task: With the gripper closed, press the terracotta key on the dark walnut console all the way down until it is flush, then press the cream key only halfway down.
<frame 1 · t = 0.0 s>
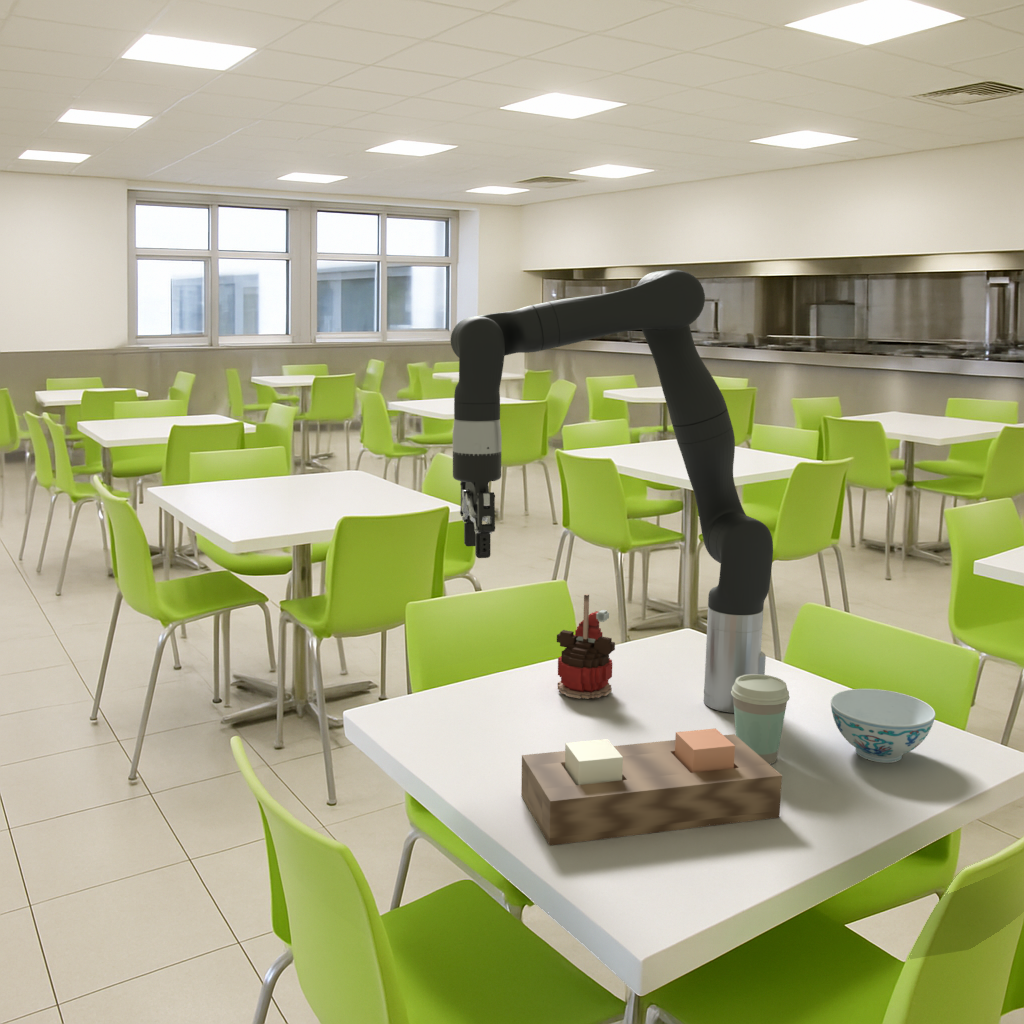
hand: (476, 551, 159), 29 cm above the table, tool pointing down, fingers open, 8 cm apart
walnut console: (647, 806, 138), on the table
coffee cup: (756, 758, 154), on the table
cream key: (593, 764, 135), point 7 cm above the table, slide at 0.0 cm
terracotta key: (704, 752, 139), point 7 cm above the table, slide at 0.0 cm
cake: (584, 693, 180), on the table
chinaware: (878, 754, 156), on the table
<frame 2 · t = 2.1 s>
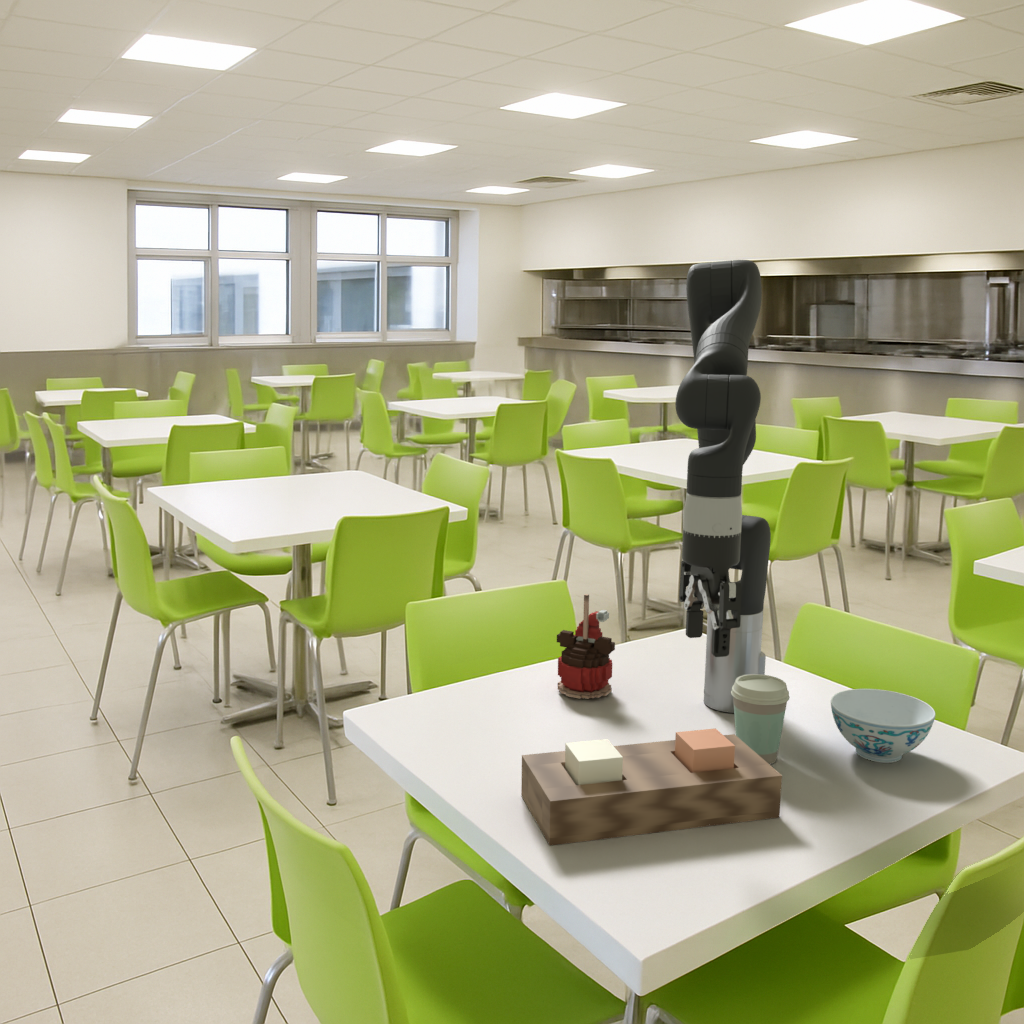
hand: (706, 646, 136), 22 cm above the table, tool pointing down, fingers open, 8 cm apart
nothing on the table moved.
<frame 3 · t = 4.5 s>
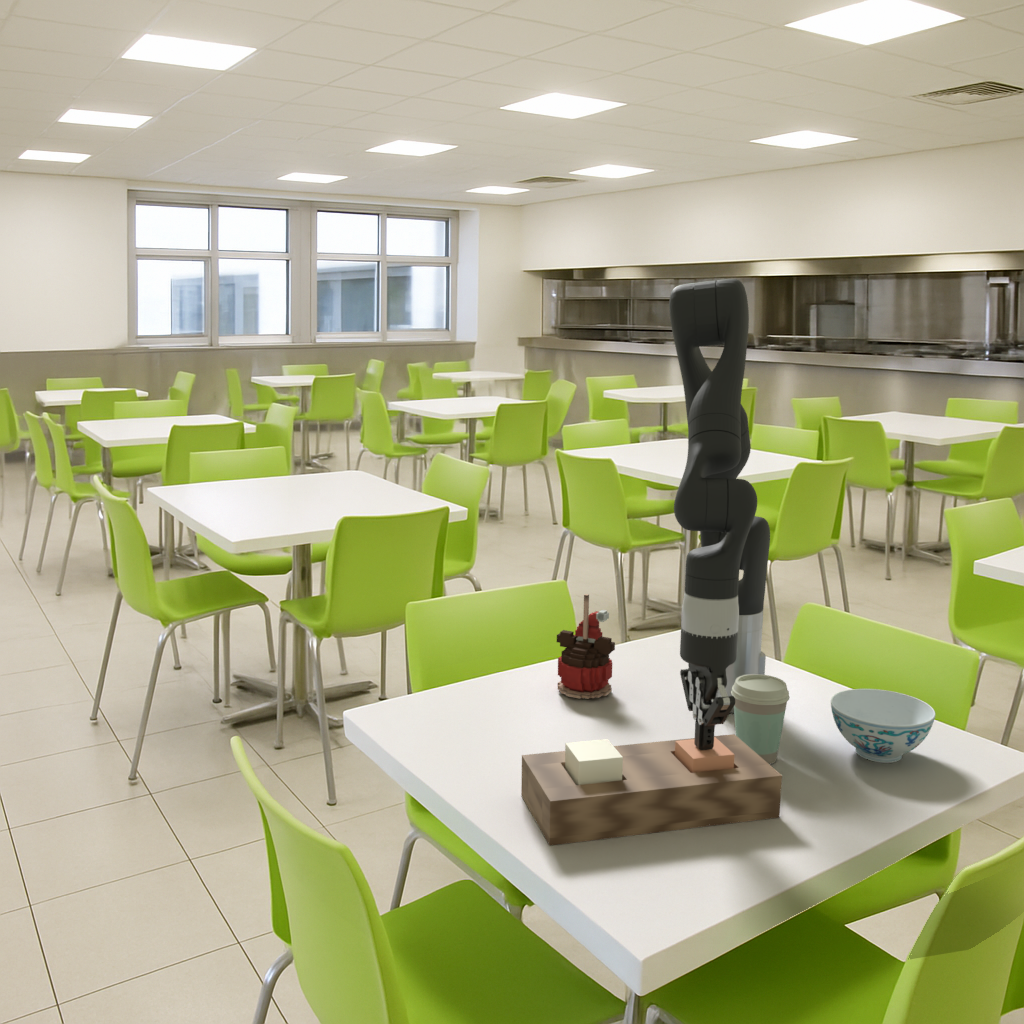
hand: (703, 747, 139), 8 cm above the table, tool pointing down, fingers closed
terracotta key: (703, 761, 139), point 6 cm above the table, slide at 1.3 cm, touching gripper
everything else where it was.
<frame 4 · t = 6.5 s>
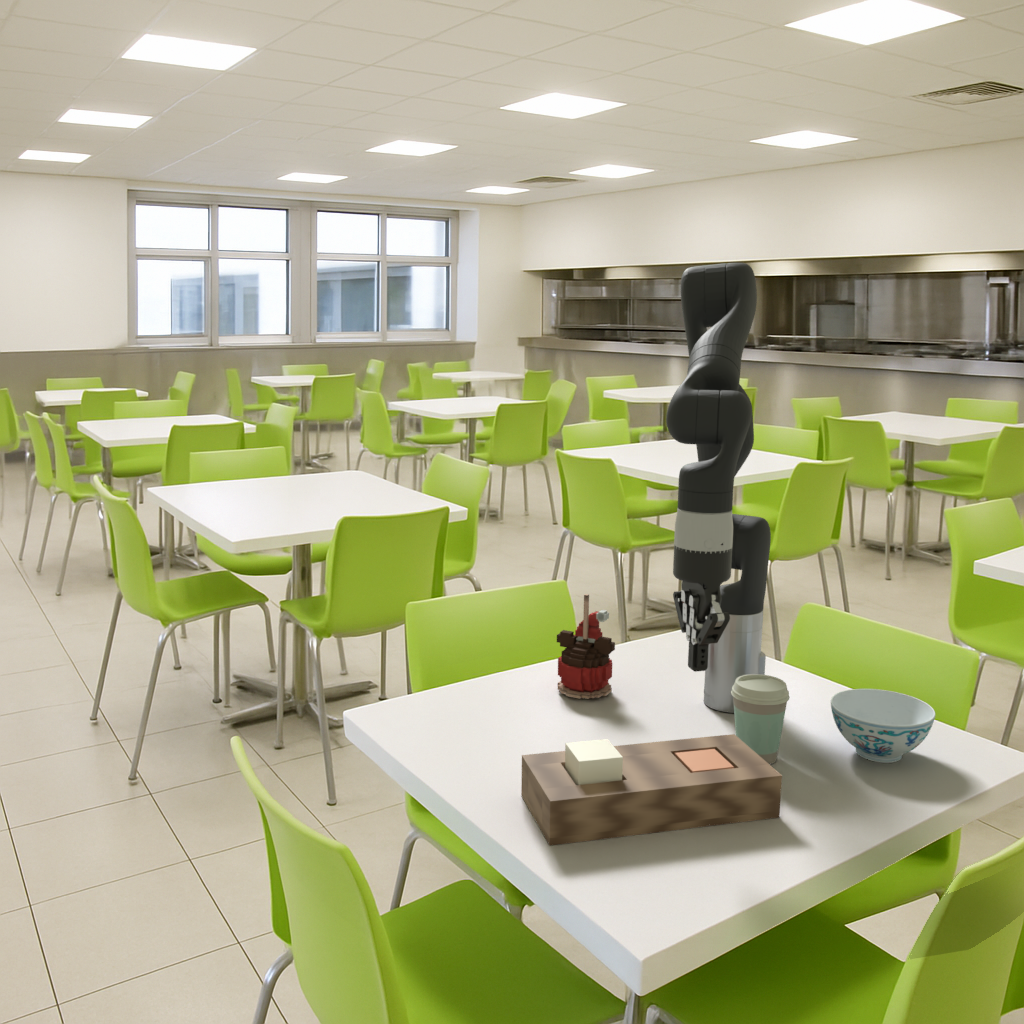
hand: (697, 669, 136), 19 cm above the table, tool pointing down, fingers closed
terracotta key: (703, 773, 139), point 4 cm above the table, slide at 3.1 cm
everything else where it was.
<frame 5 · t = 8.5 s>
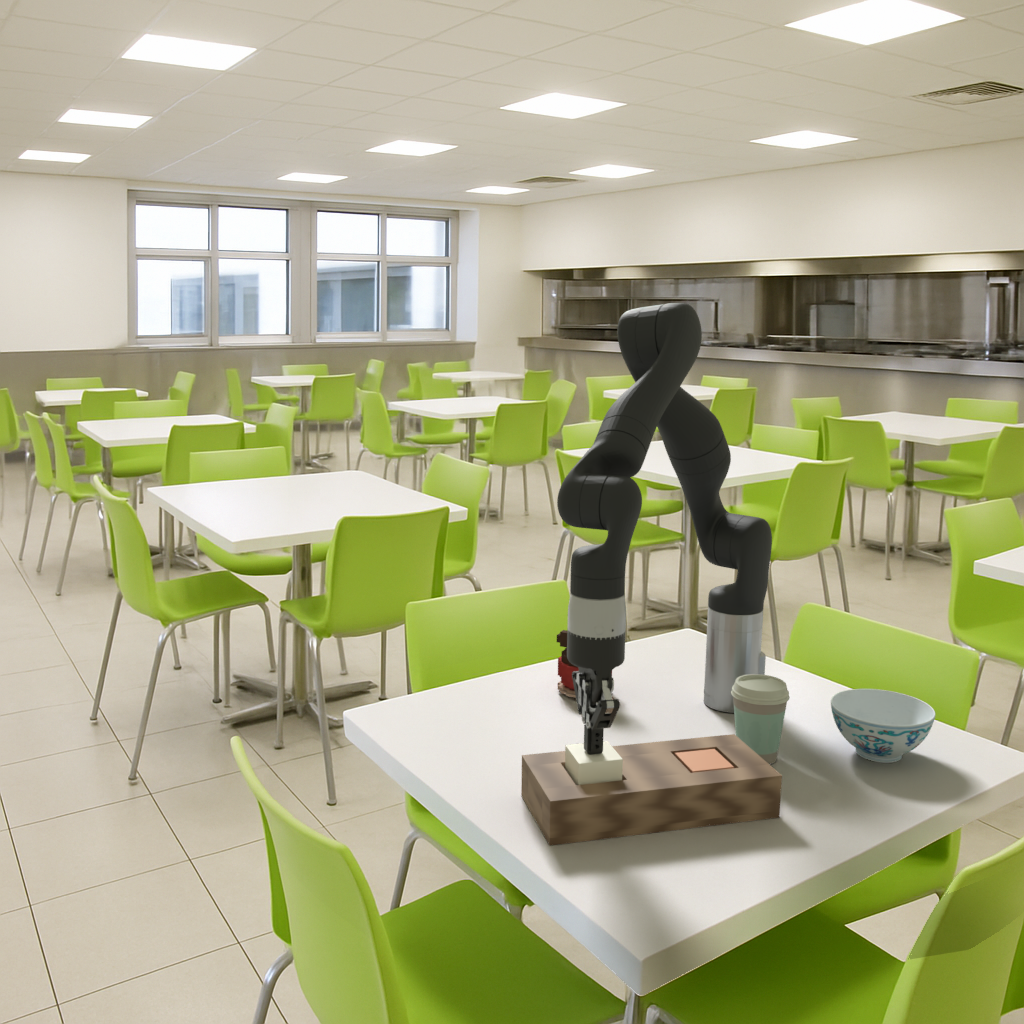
hand: (593, 751, 135), 9 cm above the table, tool pointing down, fingers closed
cream key: (593, 766, 135), point 7 cm above the table, slide at 0.3 cm, touching gripper
everything else where it was.
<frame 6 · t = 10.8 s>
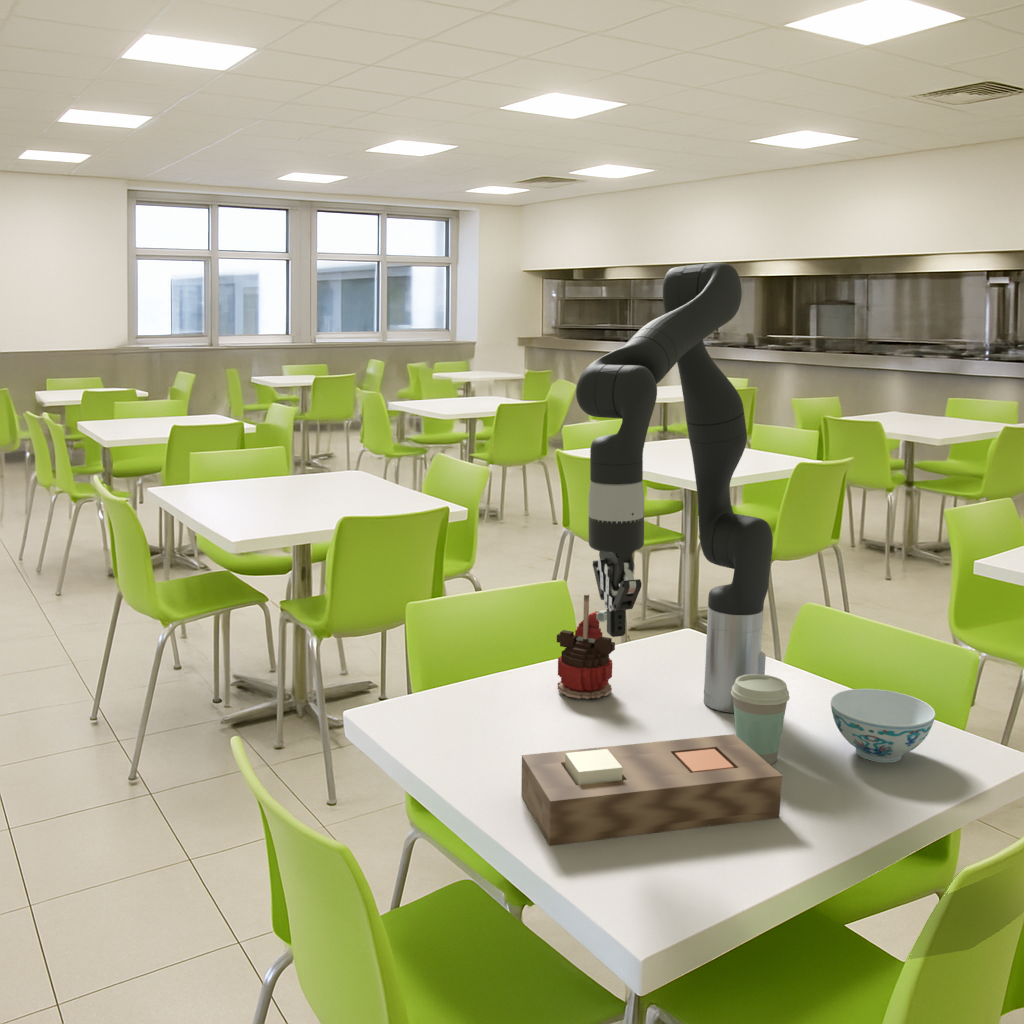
hand: (615, 634, 141), 22 cm above the table, tool pointing down, fingers closed
cream key: (593, 774, 135), point 6 cm above the table, slide at 1.4 cm
everything else where it was.
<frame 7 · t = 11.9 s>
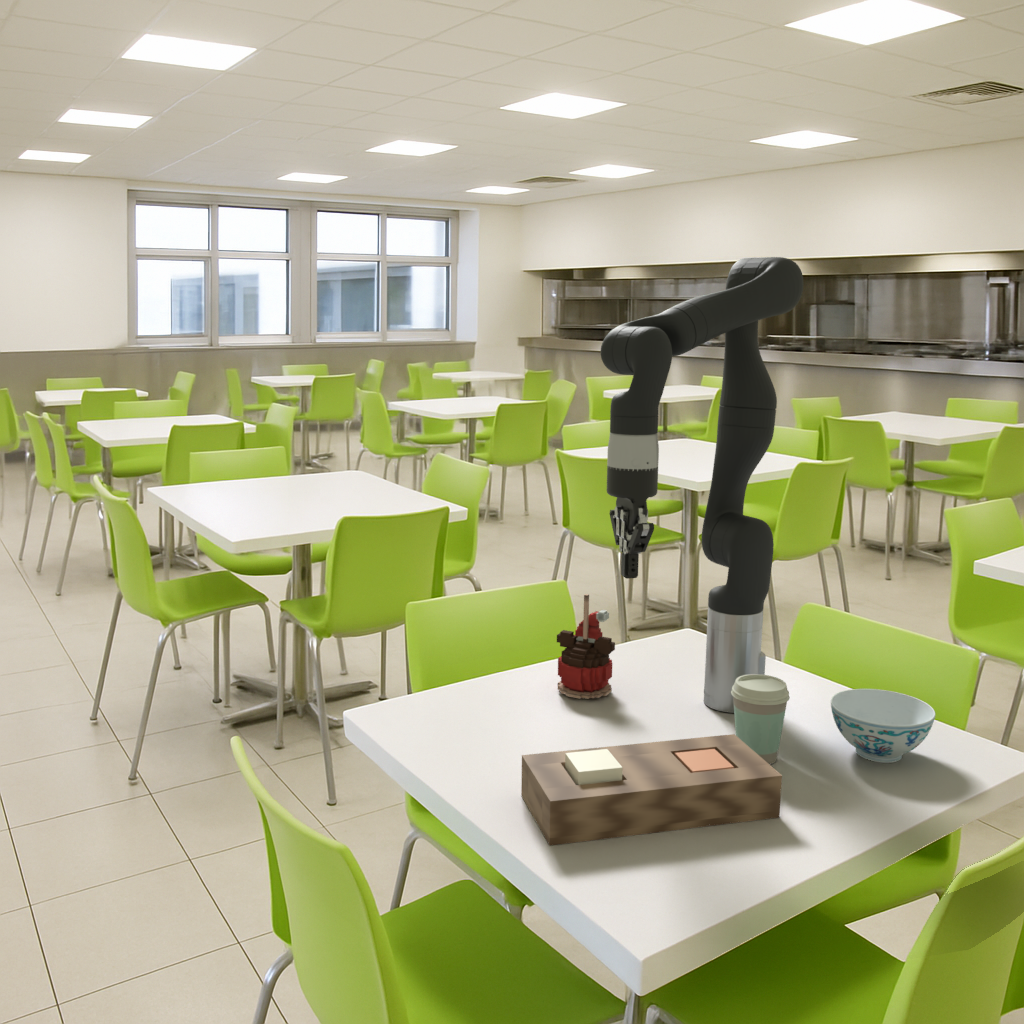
hand: (629, 576, 153), 27 cm above the table, tool pointing down, fingers closed
nothing on the table moved.
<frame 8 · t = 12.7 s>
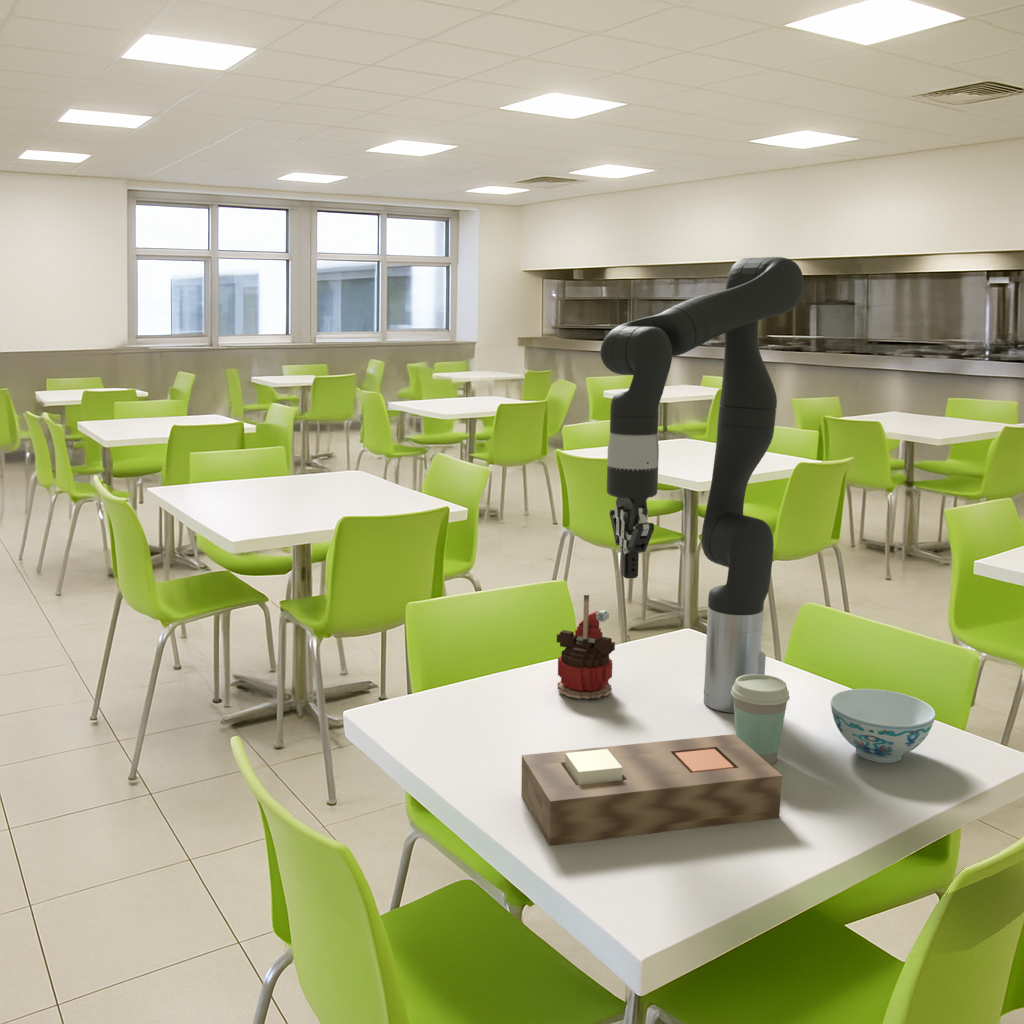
hand: (629, 576, 153), 27 cm above the table, tool pointing down, fingers closed
nothing on the table moved.
at the end: terracotta key slide at 3.1 cm; cream key slide at 1.4 cm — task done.
